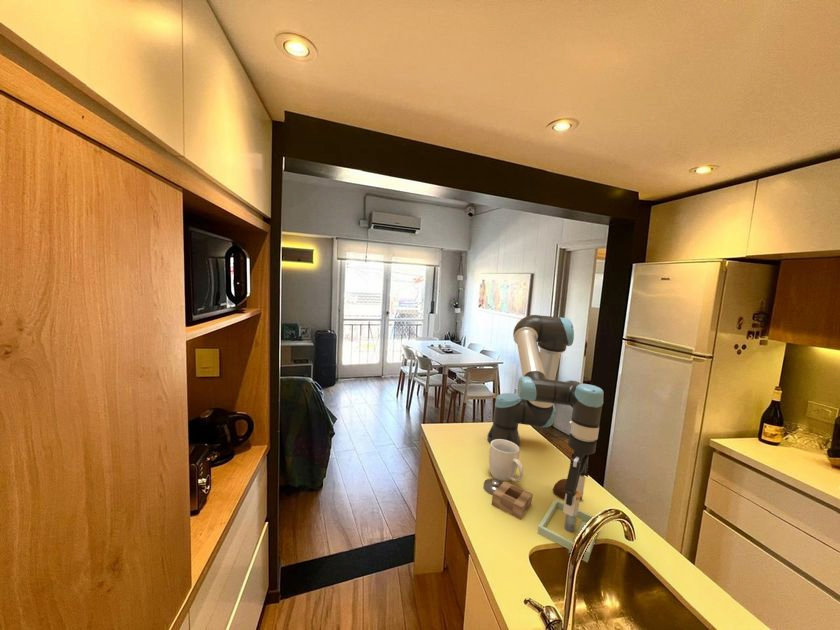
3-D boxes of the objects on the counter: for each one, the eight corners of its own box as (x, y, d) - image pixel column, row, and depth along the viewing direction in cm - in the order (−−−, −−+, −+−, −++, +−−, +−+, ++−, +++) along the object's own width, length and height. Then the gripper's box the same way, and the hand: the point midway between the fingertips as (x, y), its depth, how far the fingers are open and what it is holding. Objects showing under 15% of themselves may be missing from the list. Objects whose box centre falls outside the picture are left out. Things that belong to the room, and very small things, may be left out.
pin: (565, 525, 106) (571, 488, 105) (575, 530, 104) (581, 492, 103) (562, 529, 103) (568, 492, 102) (573, 535, 102) (579, 497, 101)
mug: (529, 487, 126) (534, 454, 124) (509, 495, 120) (514, 460, 118) (500, 467, 138) (504, 436, 137) (480, 473, 132) (484, 441, 131)
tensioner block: (503, 494, 120) (504, 480, 119) (530, 507, 114) (532, 493, 113) (491, 507, 112) (492, 493, 111) (520, 522, 106) (522, 507, 105)
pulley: (489, 482, 126) (490, 473, 126) (509, 491, 122) (510, 482, 121) (479, 491, 120) (480, 481, 120) (500, 501, 115) (501, 492, 115)
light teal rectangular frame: (554, 507, 115) (555, 498, 115) (599, 528, 107) (600, 519, 106) (536, 535, 101) (538, 526, 100) (587, 562, 92) (589, 552, 92)
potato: (586, 506, 118) (589, 487, 117) (557, 503, 118) (559, 484, 117) (577, 493, 125) (580, 476, 124) (549, 491, 125) (551, 473, 124)
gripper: (578, 421, 113) (570, 482, 115) (559, 444, 93) (548, 517, 95) (603, 429, 108) (594, 492, 110) (588, 455, 89) (577, 531, 91)
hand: (573, 503), depth 103 cm, fingers open, 12 cm apart
